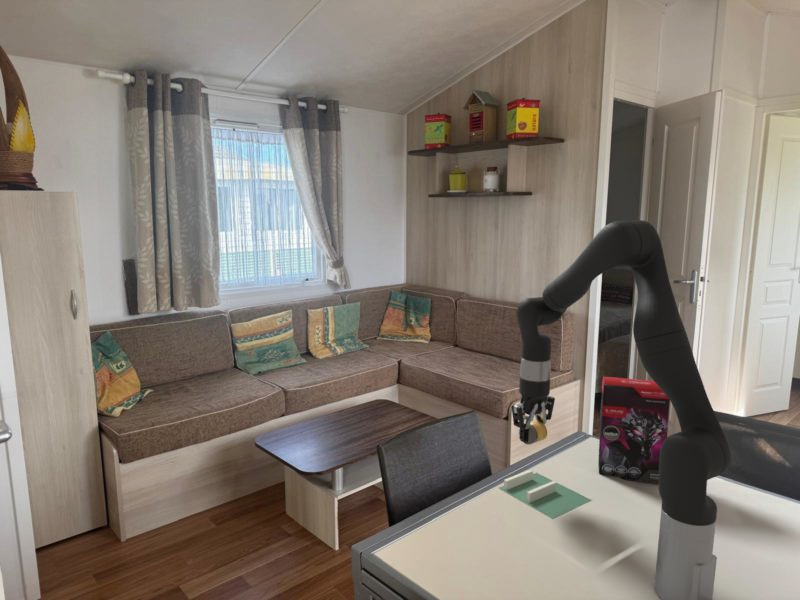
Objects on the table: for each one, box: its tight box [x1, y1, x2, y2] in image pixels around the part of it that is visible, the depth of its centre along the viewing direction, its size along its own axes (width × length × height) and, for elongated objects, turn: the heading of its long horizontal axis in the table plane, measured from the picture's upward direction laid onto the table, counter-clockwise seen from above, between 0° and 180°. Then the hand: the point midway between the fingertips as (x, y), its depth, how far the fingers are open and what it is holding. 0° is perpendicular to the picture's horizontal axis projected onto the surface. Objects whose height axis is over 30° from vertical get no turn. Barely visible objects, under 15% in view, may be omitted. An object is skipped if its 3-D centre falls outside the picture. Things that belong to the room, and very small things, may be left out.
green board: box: [498, 472, 592, 520], centre depth 145 cm, size 18×15×1 cm
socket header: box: [503, 469, 557, 503], centre depth 147 cm, size 9×10×2 cm
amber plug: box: [518, 420, 548, 445], centre depth 144 cm, size 5×5×5 cm
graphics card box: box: [597, 376, 671, 485], centre depth 155 cm, size 17×7×27 cm, turn 73°
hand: (531, 438), depth 145 cm, fingers closed on amber plug, 5 cm apart
